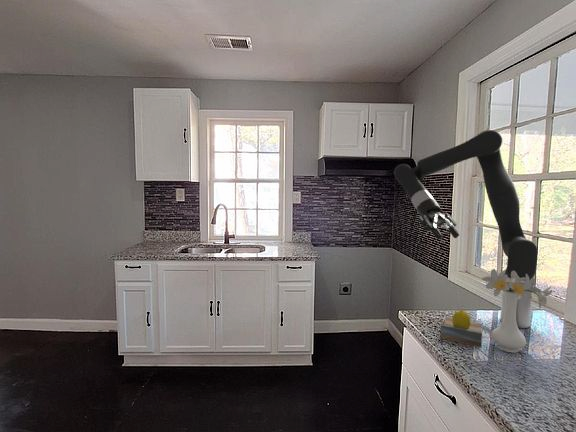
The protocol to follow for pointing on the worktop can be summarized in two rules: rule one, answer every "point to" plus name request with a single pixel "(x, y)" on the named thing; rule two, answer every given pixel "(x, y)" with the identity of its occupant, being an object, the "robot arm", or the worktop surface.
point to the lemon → (461, 319)
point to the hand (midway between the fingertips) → (448, 237)
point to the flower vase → (512, 307)
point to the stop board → (462, 333)
